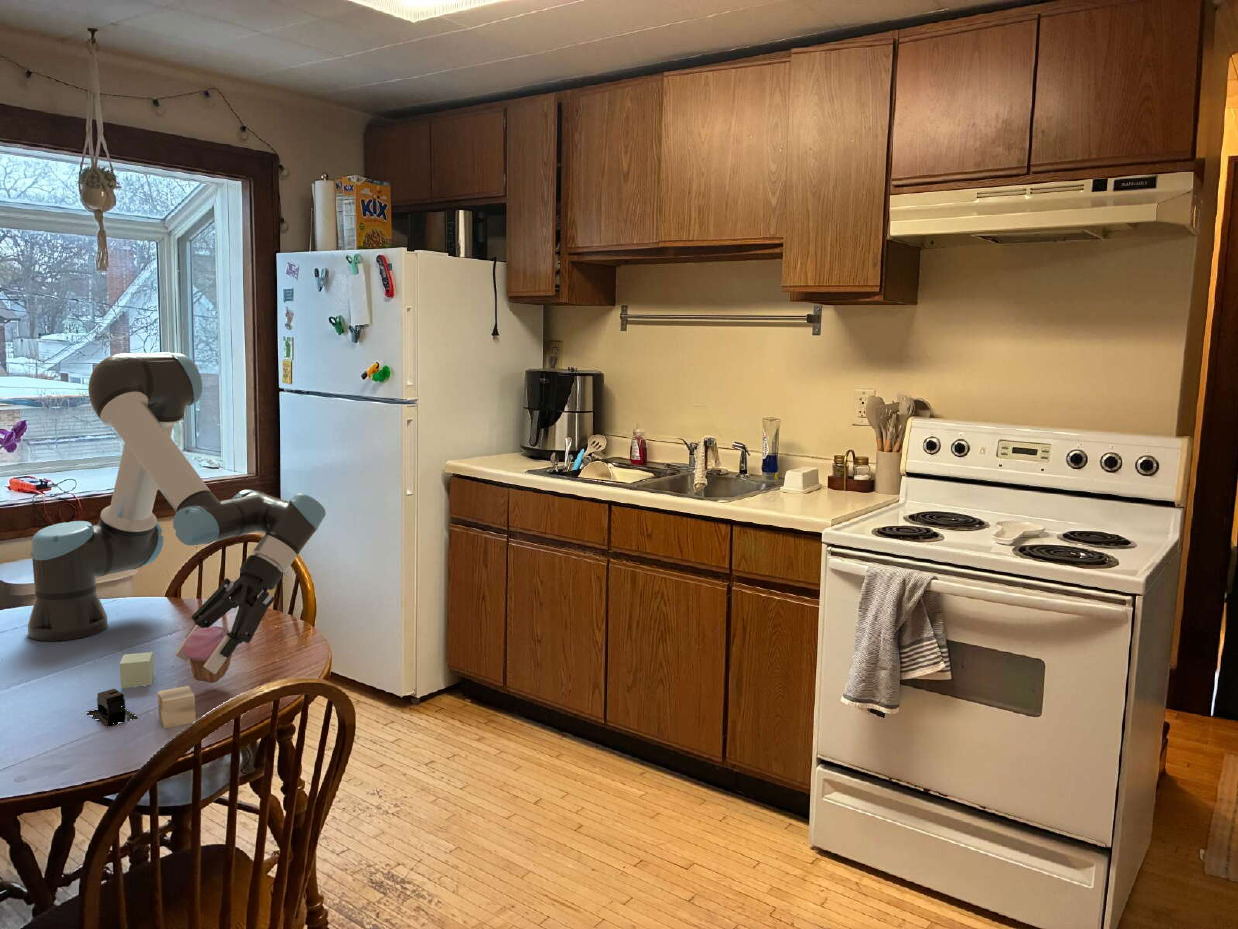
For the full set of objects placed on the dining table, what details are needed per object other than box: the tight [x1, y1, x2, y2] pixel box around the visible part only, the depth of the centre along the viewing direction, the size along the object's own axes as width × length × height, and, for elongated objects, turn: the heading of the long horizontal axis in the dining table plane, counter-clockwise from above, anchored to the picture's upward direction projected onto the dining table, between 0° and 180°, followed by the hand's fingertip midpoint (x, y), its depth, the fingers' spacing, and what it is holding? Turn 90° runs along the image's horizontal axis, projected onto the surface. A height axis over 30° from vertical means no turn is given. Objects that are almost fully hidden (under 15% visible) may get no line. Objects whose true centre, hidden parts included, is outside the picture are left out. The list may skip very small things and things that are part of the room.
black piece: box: [86, 688, 141, 728], centre depth 163 cm, size 12×7×5 cm, turn 52°
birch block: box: [157, 685, 196, 730], centre depth 162 cm, size 5×5×5 cm
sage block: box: [119, 651, 155, 689], centre depth 178 cm, size 5×5×5 cm
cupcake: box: [183, 626, 236, 684], centre depth 175 cm, size 9×9×10 cm
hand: (194, 664), depth 173 cm, fingers closed on cupcake, 9 cm apart
